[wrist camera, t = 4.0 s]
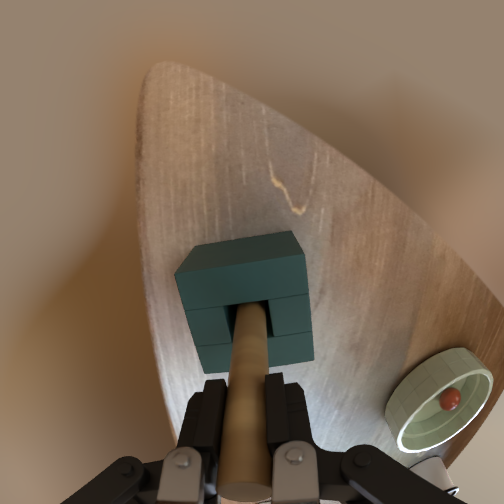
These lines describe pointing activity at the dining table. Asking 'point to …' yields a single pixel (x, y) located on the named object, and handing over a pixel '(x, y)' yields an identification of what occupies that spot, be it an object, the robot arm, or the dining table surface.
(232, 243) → the holder
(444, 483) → the mug
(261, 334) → the stick
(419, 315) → the dining table surface
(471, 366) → the bowl
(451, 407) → the ball
